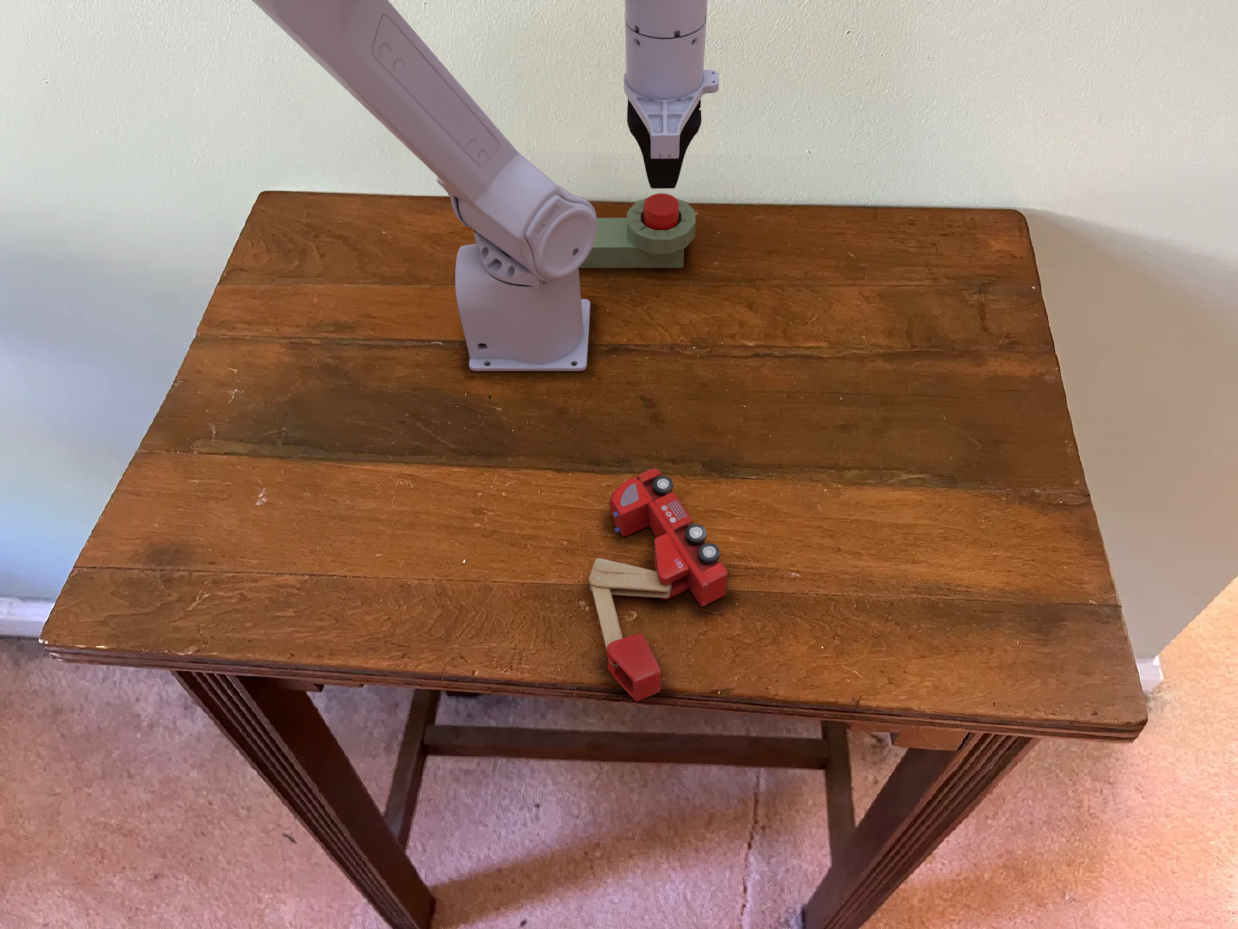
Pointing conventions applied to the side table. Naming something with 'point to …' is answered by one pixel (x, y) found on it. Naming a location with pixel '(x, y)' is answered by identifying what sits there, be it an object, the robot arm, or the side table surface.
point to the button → (661, 211)
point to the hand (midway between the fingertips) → (662, 183)
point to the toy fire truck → (652, 573)
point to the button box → (641, 241)
